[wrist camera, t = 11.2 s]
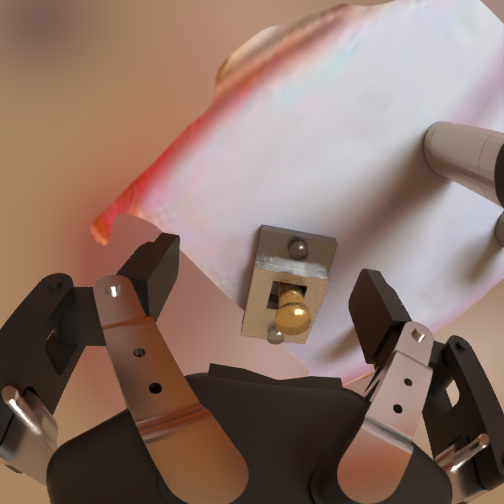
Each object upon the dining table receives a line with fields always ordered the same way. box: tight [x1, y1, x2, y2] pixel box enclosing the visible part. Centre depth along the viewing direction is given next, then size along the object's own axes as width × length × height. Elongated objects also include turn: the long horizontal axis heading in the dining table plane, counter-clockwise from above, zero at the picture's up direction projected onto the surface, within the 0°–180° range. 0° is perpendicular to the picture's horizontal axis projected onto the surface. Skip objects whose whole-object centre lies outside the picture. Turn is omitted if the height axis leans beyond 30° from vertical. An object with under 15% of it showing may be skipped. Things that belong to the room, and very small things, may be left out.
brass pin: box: [275, 282, 311, 335], centre depth 44 cm, size 5×5×10 cm
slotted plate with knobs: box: [241, 225, 338, 344], centre depth 45 cm, size 12×20×6 cm, turn 170°
